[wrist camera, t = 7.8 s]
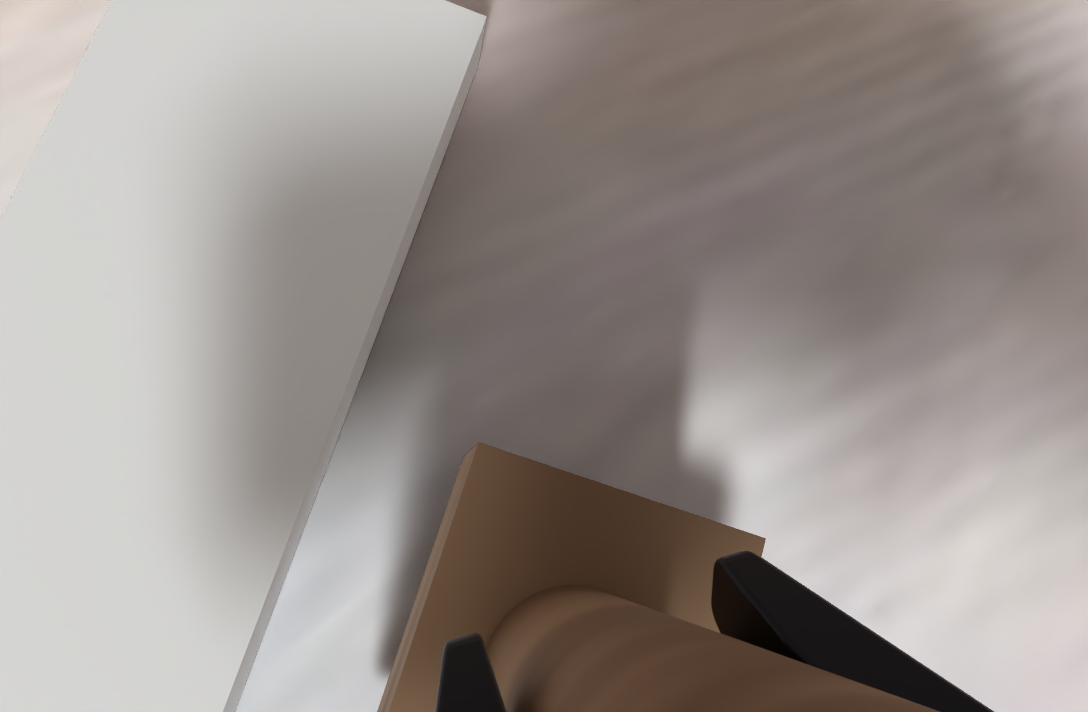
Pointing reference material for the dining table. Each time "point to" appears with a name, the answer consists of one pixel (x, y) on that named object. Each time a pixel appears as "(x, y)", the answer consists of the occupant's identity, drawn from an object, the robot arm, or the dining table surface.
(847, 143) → the dining table surface
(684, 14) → the dining table surface
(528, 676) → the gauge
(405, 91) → the board
